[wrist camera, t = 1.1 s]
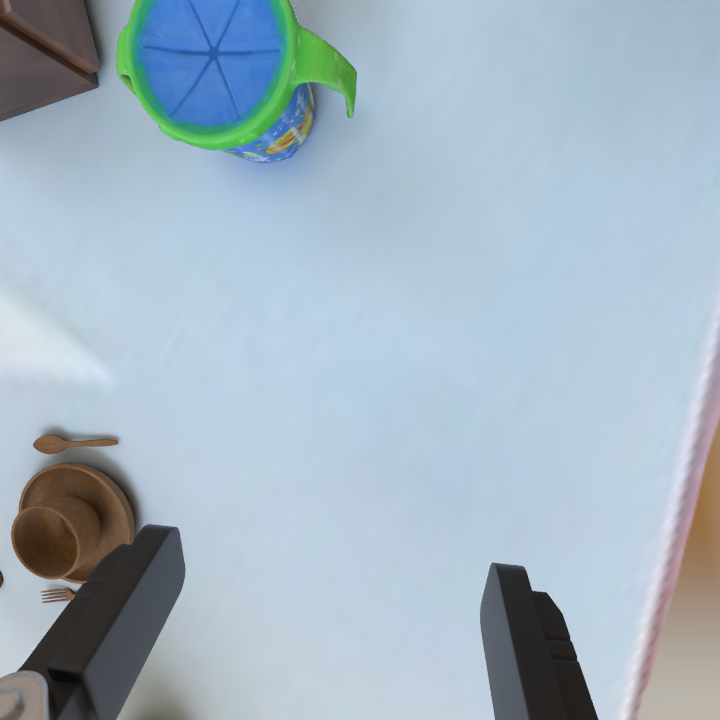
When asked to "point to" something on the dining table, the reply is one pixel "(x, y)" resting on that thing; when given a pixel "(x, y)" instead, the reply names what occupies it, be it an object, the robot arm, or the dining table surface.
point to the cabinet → (34, 74)
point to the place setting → (69, 518)
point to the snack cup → (229, 73)
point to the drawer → (55, 28)
